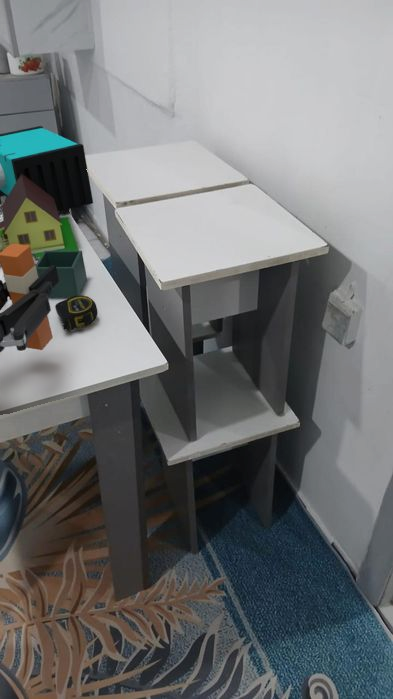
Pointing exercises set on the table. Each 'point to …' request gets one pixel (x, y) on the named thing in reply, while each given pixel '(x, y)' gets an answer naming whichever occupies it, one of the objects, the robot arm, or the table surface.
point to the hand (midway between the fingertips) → (44, 271)
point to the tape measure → (76, 312)
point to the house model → (34, 221)
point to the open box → (64, 272)
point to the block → (23, 286)
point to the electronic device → (45, 166)
